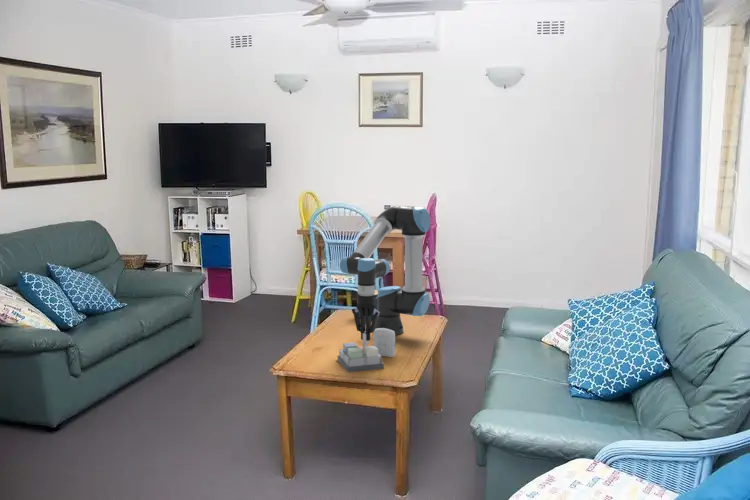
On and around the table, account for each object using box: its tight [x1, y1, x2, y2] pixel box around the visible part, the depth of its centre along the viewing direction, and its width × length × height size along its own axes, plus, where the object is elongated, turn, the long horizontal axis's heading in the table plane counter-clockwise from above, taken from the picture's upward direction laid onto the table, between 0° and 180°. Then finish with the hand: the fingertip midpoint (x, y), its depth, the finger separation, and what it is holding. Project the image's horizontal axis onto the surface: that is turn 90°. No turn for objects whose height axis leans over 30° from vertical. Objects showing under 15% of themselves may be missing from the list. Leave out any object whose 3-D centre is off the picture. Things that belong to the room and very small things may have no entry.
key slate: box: [342, 342, 358, 354], centre depth 268 cm, size 5×5×4 cm
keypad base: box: [336, 348, 385, 373], centre depth 266 cm, size 16×16×5 cm
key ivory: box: [363, 345, 378, 357], centre depth 264 cm, size 5×5×4 cm
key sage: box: [348, 346, 362, 359], centre depth 261 cm, size 5×5×4 cm
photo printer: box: [372, 328, 396, 358], centre depth 279 cm, size 10×4×12 cm, turn 69°
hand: (365, 347), depth 270 cm, fingers closed
